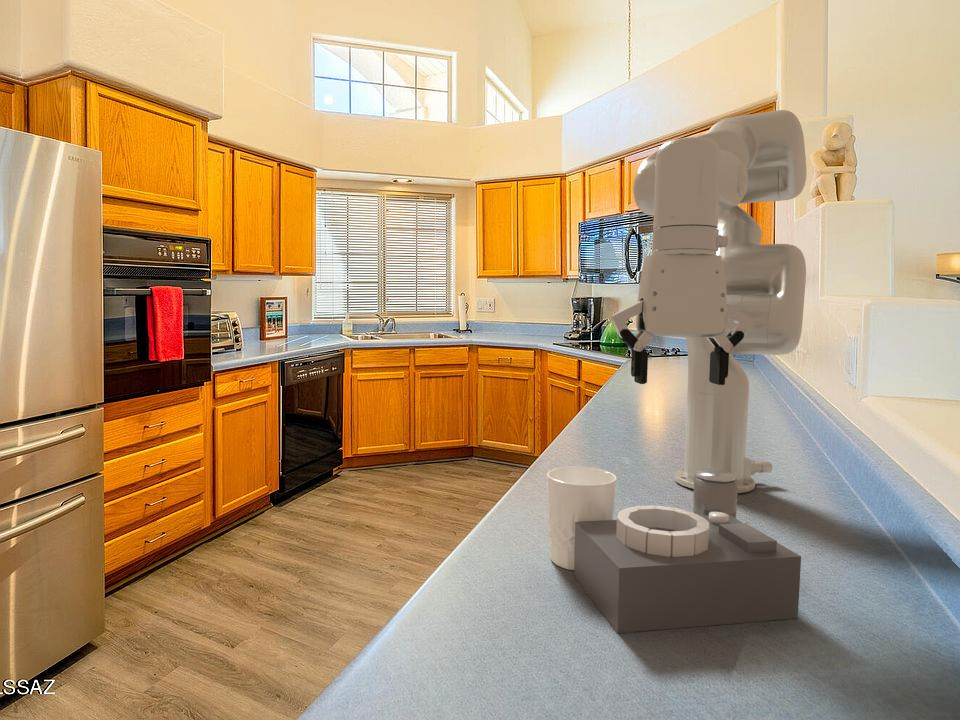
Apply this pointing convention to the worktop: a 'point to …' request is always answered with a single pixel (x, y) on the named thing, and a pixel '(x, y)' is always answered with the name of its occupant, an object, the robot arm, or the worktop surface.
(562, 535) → the white cup
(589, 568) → the camera body
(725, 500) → the shiny metal cylinder
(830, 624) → the worktop surface
